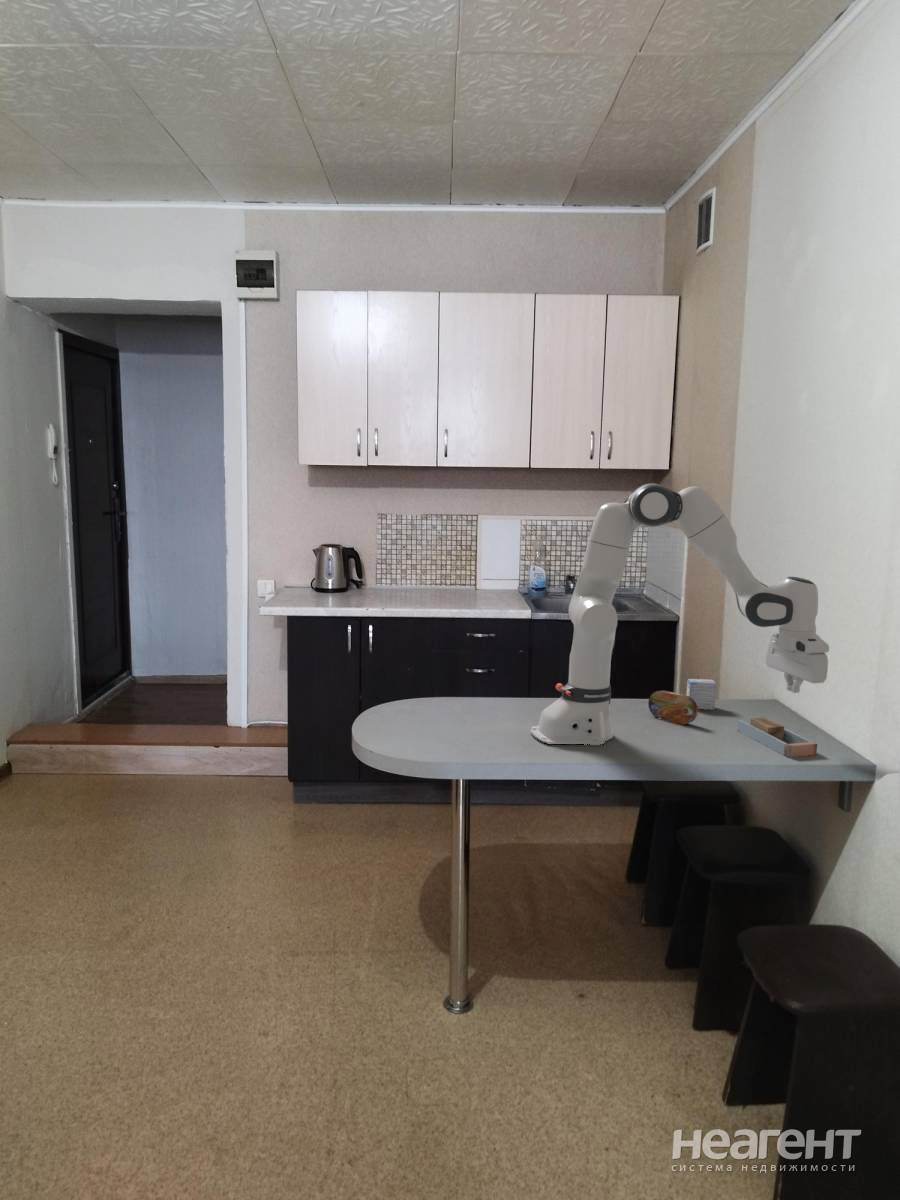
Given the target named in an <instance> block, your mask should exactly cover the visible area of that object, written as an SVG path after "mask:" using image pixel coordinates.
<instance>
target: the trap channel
mask: <svg viewBox="0 0 900 1200" xmlns="http://www.w3.org/2000/svg"><path fill="white" fill-rule="evenodd" d="M737 731H738V732H740V733H741V734H743V735H745V736H747V737H749V738H751V739H753V740H754V739H755V740H754V741H756V740H757V742H758V741H759V742H758V743H760V744H762V745H764V746H765V745H767V746H768V748H769V747H770V748H769V749H771V748H772V749H771V750H773V749H774V750H773V751H775V752H777V753H778V752H779V754H780V753H781V755H782V754H783V756H784V757H786V758H795V757H809V756H808V755H810V756H817V750H818V749H817V748H818V743H816V742H815V741H812V740H811V739H809V738H806V737H804V736H802V735H800V734H798V733H795V732H794V731H792V730H790V729H787V728H785V727H784V737H783V741H781V740H779V739H777V738H776V737H774V736H772V735H770V734H768V733H766V732H764V731H762V730H760V729H758V728H756V727H754V726H752V725H750V723H748V722H746V721H744V720H742V719H738V720H737ZM784 740H785V741H784ZM786 741H787V742H786ZM767 746H766V747H767Z"/></svg>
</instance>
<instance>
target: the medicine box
mask: <svg viewBox="0 0 900 1200" xmlns="http://www.w3.org/2000/svg"><path fill="white" fill-rule="evenodd" d="M686 682H687V683H686V684H687V685H686V695H687V696H689V697H691V698H692V699H693V700H694V701H695V702H696V704H697V707H698V710H700V709H702V710H703V709H704V710H706V711H715V705H716V704H715V703H716V693H717V692H716V690H717V683H716V682H715V680H713V679H705V678H704V679H703V678H688V679H687V681H686ZM708 709H709V710H708ZM704 710H703V711H704Z"/></svg>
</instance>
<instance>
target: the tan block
mask: <svg viewBox="0 0 900 1200" xmlns="http://www.w3.org/2000/svg"><path fill="white" fill-rule="evenodd" d="M749 724H750V725H752V726H754V727H756V728H758V729H760V730H762V731H764V732H766V733H768V734H770V735H772V736H774V737H776V738H777V739H779V740H781V741H783V742H784V740H783V737H784V728H785V726H784V725H782V724H780V723H778V722H776V721H774V720H772V719H771V718H768V717H757V718H756V717H754V718H750V723H749Z"/></svg>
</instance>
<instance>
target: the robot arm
mask: <svg viewBox="0 0 900 1200" xmlns="http://www.w3.org/2000/svg"><path fill="white" fill-rule="evenodd" d="M668 523H674V524H676V525H677V527H679V529H680V530H681V531H682V533H683V535H684V536H685V537H686V538H687V540H688V541H689V543H690V544H691V546H693V547H694V548H695V550H696V551H698V553H699V554H700V555H701V556H703V558H705V559H707V560H708V561H710V562H712V564H714V565H715V566H716V567H717V568H718V569H719V570H720V572H721V573H722V575H723V576H724V578H725V579H726V580H727V582H728V584H729V585H730V587H732V589H733V592H734V594H735V597H736V604H737V608H738V610H739V612H740V613H741V614H742V616H743V617H744V618H746V619H747V620H748V621H749V622H750V623H751V624H752V625H754V626H757V627H761V628H768V627H777V626H778V627H779V628H778V633H777V632H776V633H773V634H772V635H771V636H770V639H769V642H768V644H767V649H766V654H765V665H766V666H767V667H769V668H772V669H775V670H777V671H780V672H781V673H784V675H783V676H784V680H785V683H786V691H788V692H789V691H790V692H792V693H794V694H799V693H800V689H801V685H802V684H803V682H804V681H806V682H808V683H811V684H822V683H823V684H824V682H826V681H827V676H828V669H829V668H828V667H829V666H828V665H829V660H828V659H829V658H828V655H827V654H826V653H828V652H829V651H830V645H829V644H828V643H827V642H826V641H824V640H823V639H822V638H821V637H820V636H819V635H818V634H817V626H816V619H817V616H818V610H819V590H818V586H817V585H816V584H815V583H814V582H813V581H811V580H809V579H805V578H803V577H798V576H797V577H796V576H787V577H785V579H783V580H781V581H779V582H777V583H776V584H772V585H770V586H768V585H766V584H764V583H763V582H761V581H760V580H758V579H757V578H756V577H755V576H754V574H753V573H752V571H751V569H750V568H749V567H748V566H747V564H746V562H745V561H744V560H743V558H742V557H741V555H740V553H739V551H738V550H739V549H738V545H737V541H738V539H737V538H738V537H737V535H736V532H735V530H734V527H733V526H732V524H731V522H730V519H729V518H728V516H727V515H726V514H725V513H724V511H723V510H722V509H721V507H720V506H719V505H718V503H717V502H716V501H715V500H714V498H712V497H711V496H710V494H708V493H707V492H706V490H704V489H703V488H701V487H700V486H693V485H692V486H688V487H685V488H683V489H681V490H679V491H678V492H676V491H674V490H672V489H670V488H667V487H666V486H663V485H661V484H658V483H654V482H652V483H651V482H650V483H645V484H643V485H641V486H639V487H638V488H636V489H635V490H634V491H632V493H630V495H629V496H628V497H627V498H626V499H625V500H624V501H623V503H621V502H613V501H612V502H608V503H604V504H603V505H601V506H600V508H599V509H598V511H597V513H596V515H595V518H594V520H593V523H592V526H591V529H590V532H589V535H588V540H587V544H586V549H585V553H584V557H583V561H582V567H581V570H580V572H579V575H578V577H577V580H576V584H575V586H574V589H573V592H572V596H571V598H570V602H569V604H568V605H569V606H568V617H569V620H570V621H571V623H572V624H573V636H572V644H571V650H570V653H569V664H568V681H567V683H566V684H565V685H564V684H562V683H560V682H559V683H556V685H555V689H556V690H557V691H558V692H560V693H561V696H560V697H559V698H557V700H555V701H554V702H552V703H551V704H549V705H548V706H547V707H545V708H544V709H543V710H542V711H541V713H540V716H539V721H538V725H534V726H531V728H530V733H531V732H532V733H533V734H534V735H535V736H536V737H537V738H539V739H540V740H542V741H544V742H546V743H550V744H584V745H583V746H603V745H602V744H604V743H605V744H606V742H608V741H610V740H611V739H613V737H614V732H613V729H612V724H611V715H610V705H611V697H612V685H611V684H610V683H611V682H610V679H611V661H612V653H613V650H614V649H613V648H614V645H615V644H614V643H615V637H616V632H617V631H616V630H617V627H618V614H617V611H616V609H615V607H614V605H613V600H614V597H615V595H616V592H617V589H618V587H619V585H620V582H621V581H622V580H623V576H624V573H625V569H626V565H627V560H628V556H629V553H630V548H631V543H632V539H633V537H634V535H635V534H634V533H635V532H636V530H637V529H638V528H639V527H641V526H644V527H652V528H653V527H659V526H663V525H666V524H668ZM533 729H535V730H533ZM544 739H545V740H544ZM609 739H610V740H609ZM605 741H606V742H605ZM587 744H588V745H587ZM589 744H590V745H589ZM600 744H601V745H600ZM605 744H604V745H605Z"/></svg>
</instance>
